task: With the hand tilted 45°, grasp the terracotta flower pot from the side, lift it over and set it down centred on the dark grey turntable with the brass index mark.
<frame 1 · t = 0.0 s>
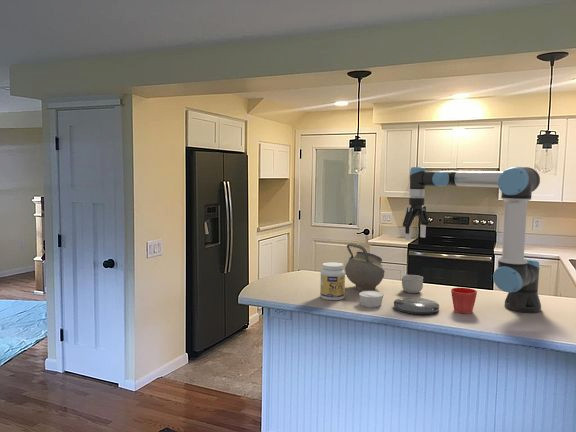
hand: (415, 238, 241), 28 cm above the countertop, tool pointing down, fingers open, 13 cm apart
turntable: (416, 305, 214), point 2 cm above the countertop, hinge at 0.0°
supplement tub: (332, 298, 233), on the countertop
ramekin: (370, 305, 221), on the countertop
pot: (364, 289, 249), on the countertop
flower pot: (463, 311, 211), on the countertop
teacup: (411, 291, 245), on the countertop
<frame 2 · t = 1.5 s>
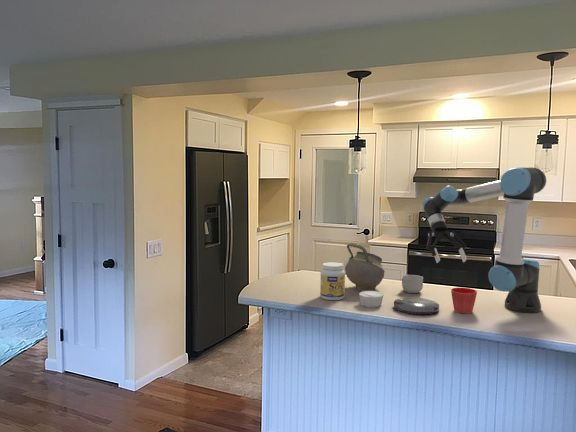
hand: (451, 261, 220), 21 cm above the countertop, tool tilted 45°, fingers open, 13 cm apart
nothing on the countertop moved.
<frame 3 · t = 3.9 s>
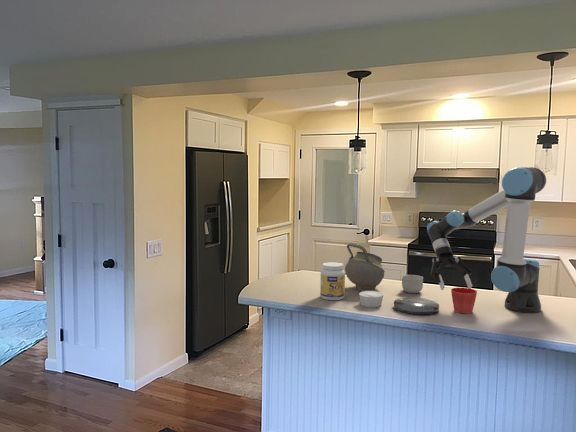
hand: (457, 287, 215), 9 cm above the countertop, tool tilted 45°, fingers open, 13 cm apart
nothing on the countertop moved.
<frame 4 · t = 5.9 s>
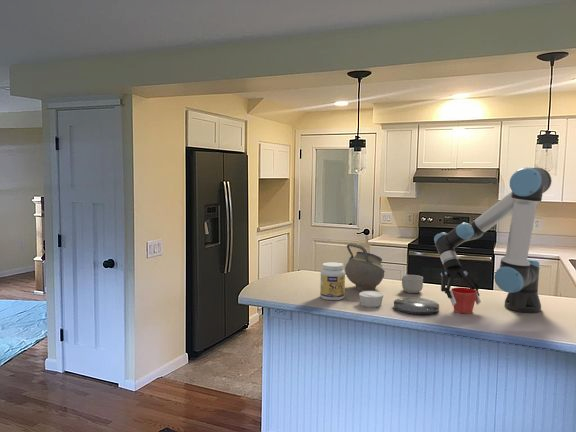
hand: (466, 303, 208), 4 cm above the countertop, tool tilted 45°, fingers closed on flower pot, 11 cm apart
flower pot: (463, 311, 211), on the countertop, touching gripper
everything else where it was.
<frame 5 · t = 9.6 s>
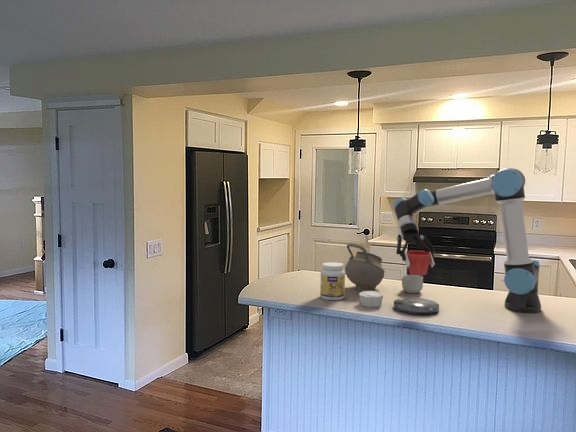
hand: (420, 266, 210), 21 cm above the countertop, tool tilted 45°, fingers closed on flower pot, 11 cm apart
flower pot: (417, 274, 213), point 16 cm above the countertop, touching gripper
everything else where it was.
when the fingers open (8 cm above the countertop, at t = 13.2 s): flower pot drops 1 cm, resting on turntable.
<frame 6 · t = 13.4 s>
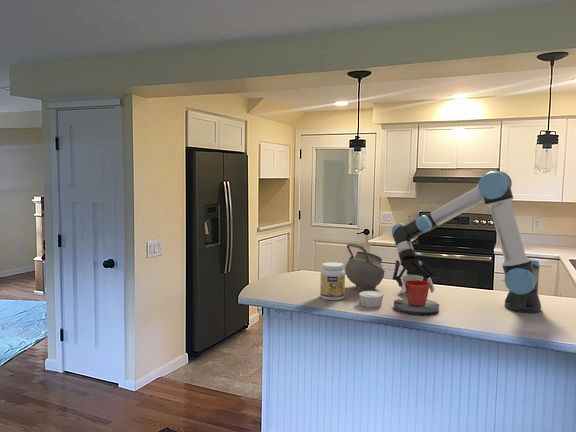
hand: (418, 291, 211), 9 cm above the countertop, tool tilted 45°, fingers open, 13 cm apart
turntable: (416, 305, 214), point 2 cm above the countertop, hinge at 0.0°, touching flower pot
flower pot: (416, 303, 214), point 2 cm above the countertop, touching turntable
everything else where it was.
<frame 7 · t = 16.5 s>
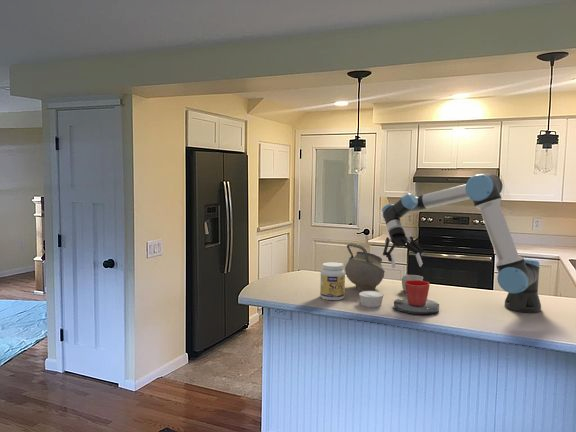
hand: (407, 266, 223), 18 cm above the countertop, tool tilted 45°, fingers open, 13 cm apart
nothing on the countertop moved.
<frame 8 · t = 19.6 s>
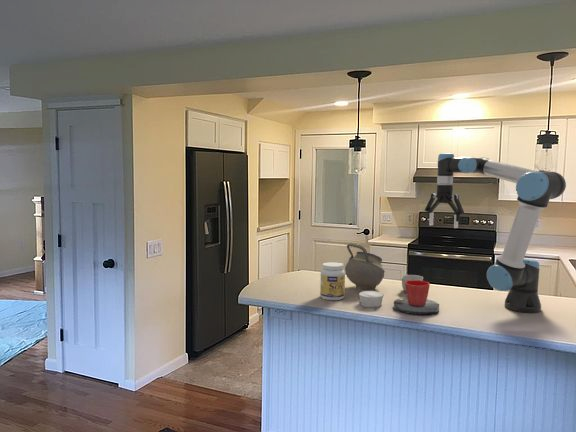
hand: (443, 226, 237), 35 cm above the countertop, tool pointing down, fingers open, 13 cm apart
nothing on the countertop moved.
at the end: flower pot 0.3 cm off-centre on the turntable, point 2.3 cm above the turntable's base; flower pot tilted 0°; the gripper is holding nothing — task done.
